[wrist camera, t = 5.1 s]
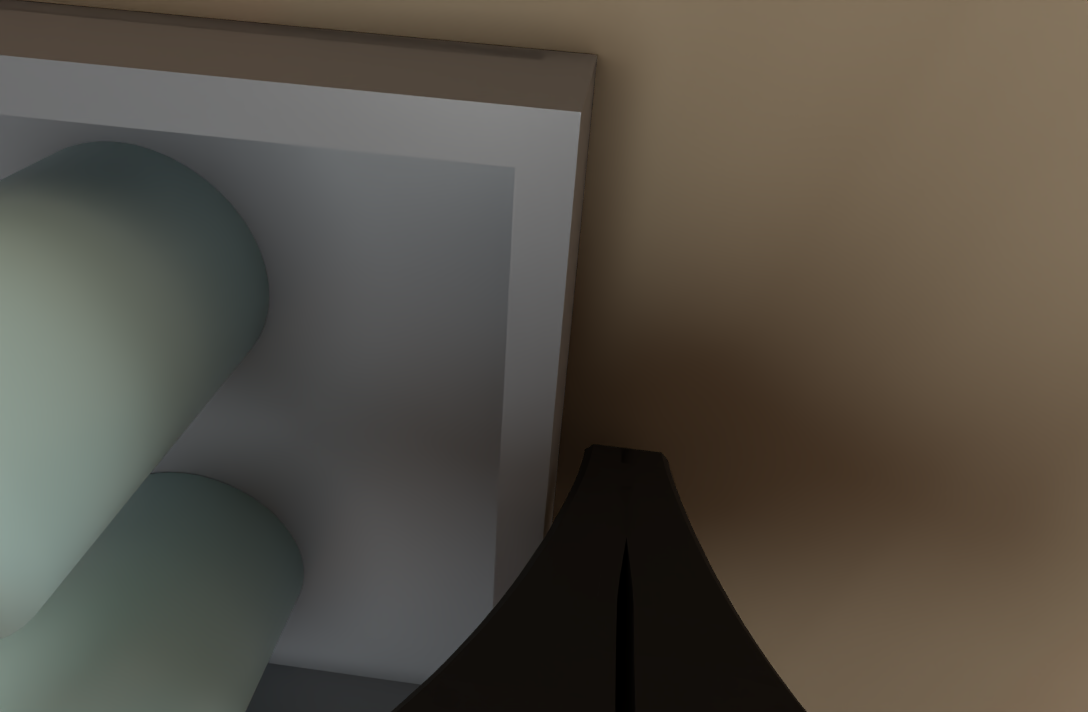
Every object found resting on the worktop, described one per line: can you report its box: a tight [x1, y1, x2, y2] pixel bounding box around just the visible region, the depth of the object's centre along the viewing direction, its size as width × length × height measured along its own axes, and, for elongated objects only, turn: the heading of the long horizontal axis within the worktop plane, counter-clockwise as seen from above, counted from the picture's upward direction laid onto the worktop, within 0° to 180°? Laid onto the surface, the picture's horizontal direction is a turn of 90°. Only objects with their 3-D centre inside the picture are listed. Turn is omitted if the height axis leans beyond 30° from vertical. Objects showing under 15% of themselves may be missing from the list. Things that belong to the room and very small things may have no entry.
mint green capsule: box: [0, 141, 269, 639], centre depth 10 cm, size 4×4×5 cm
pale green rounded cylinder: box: [0, 472, 304, 712], centre depth 12 cm, size 4×4×5 cm
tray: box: [0, 0, 597, 712], centre depth 12 cm, size 12×12×3 cm
